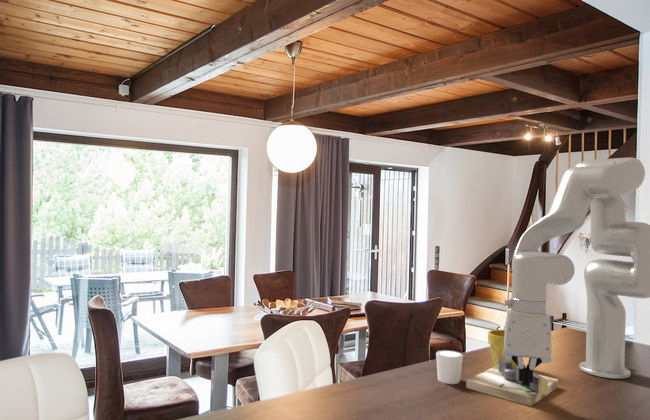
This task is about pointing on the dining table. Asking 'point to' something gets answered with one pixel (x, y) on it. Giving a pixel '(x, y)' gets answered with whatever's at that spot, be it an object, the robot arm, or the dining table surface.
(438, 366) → the white cup
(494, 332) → the plant pot
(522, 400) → the tuner board
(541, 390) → the grey dial pointer
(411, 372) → the dining table surface
